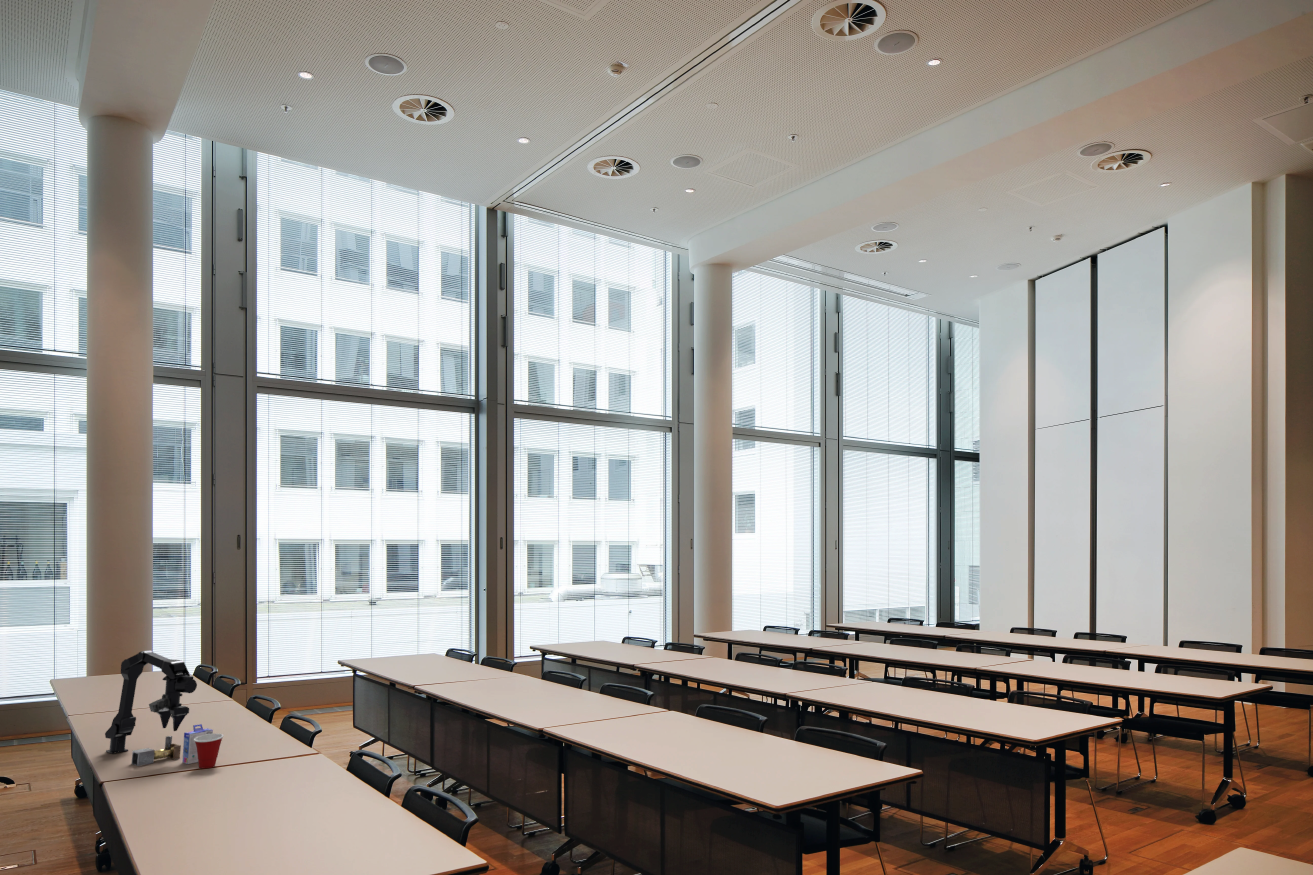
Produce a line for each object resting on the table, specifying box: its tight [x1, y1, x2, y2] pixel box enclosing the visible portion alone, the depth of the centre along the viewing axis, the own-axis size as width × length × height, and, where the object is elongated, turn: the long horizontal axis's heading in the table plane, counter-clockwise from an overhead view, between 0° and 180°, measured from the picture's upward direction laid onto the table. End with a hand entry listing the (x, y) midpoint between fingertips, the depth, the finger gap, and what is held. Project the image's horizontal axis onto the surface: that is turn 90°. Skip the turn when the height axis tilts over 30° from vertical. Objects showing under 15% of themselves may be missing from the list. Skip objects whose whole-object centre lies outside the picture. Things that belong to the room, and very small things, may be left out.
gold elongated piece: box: [154, 735, 174, 761], centre depth 351 cm, size 10×4×8 cm, turn 145°
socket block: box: [167, 742, 182, 760], centre depth 355 cm, size 2×6×5 cm, turn 55°
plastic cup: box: [194, 732, 224, 769], centre depth 342 cm, size 11×11×12 cm
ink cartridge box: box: [182, 723, 214, 765], centre depth 350 cm, size 10×6×14 cm, turn 145°
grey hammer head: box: [130, 747, 156, 767], centre depth 345 cm, size 6×6×5 cm
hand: (169, 729), depth 354 cm, fingers open, 9 cm apart
